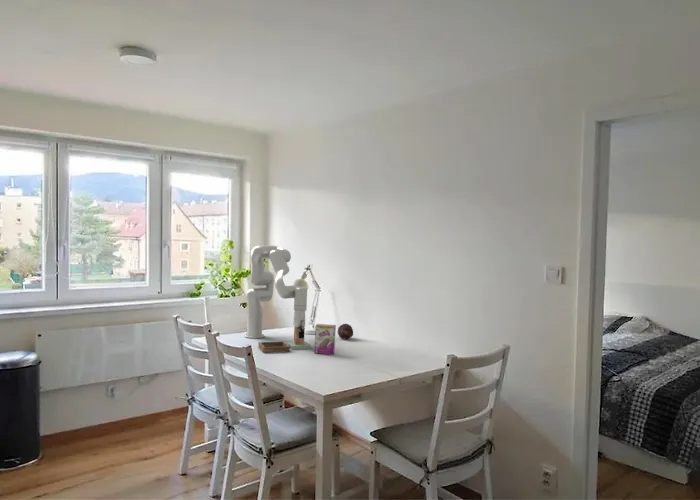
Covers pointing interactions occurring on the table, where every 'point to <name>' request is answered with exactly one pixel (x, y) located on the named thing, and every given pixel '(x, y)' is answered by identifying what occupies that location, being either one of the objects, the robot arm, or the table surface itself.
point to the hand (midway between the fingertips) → (299, 336)
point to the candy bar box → (325, 339)
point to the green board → (294, 346)
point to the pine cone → (345, 331)
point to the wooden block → (296, 337)
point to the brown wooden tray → (273, 347)
